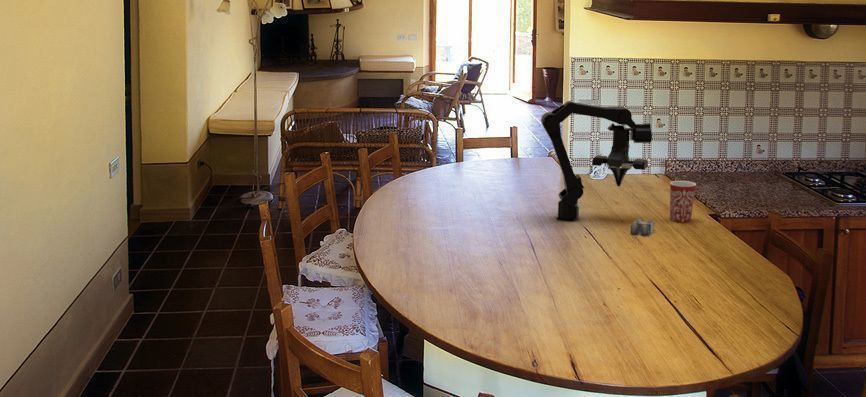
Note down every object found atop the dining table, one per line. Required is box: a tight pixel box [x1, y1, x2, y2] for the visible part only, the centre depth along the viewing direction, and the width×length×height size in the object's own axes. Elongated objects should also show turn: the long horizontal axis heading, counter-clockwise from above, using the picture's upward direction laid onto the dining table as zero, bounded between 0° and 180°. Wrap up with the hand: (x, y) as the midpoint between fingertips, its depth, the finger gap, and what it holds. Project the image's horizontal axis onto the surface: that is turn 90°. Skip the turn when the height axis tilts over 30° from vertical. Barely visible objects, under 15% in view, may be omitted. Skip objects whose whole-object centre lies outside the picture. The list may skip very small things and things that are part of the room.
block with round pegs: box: [632, 218, 655, 235], centre depth 298 cm, size 6×4×4 cm, turn 62°
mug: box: [669, 180, 697, 223], centre depth 314 cm, size 13×9×14 cm
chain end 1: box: [630, 218, 644, 236], centre depth 299 cm, size 2×9×3 cm, turn 153°
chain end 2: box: [640, 219, 655, 237], centre depth 297 cm, size 2×9×3 cm, turn 153°
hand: (618, 186), depth 313 cm, fingers closed
